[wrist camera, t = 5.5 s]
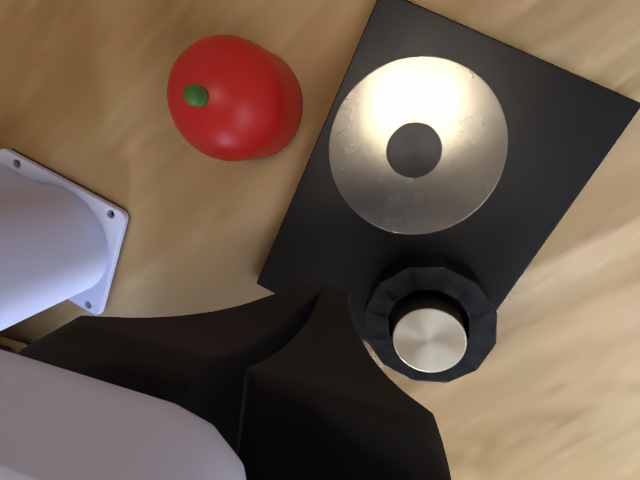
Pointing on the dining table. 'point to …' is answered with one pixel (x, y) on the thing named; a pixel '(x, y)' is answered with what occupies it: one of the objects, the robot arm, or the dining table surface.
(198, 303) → the dining table surface
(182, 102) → the pepper
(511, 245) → the hob
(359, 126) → the burner
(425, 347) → the hob button
